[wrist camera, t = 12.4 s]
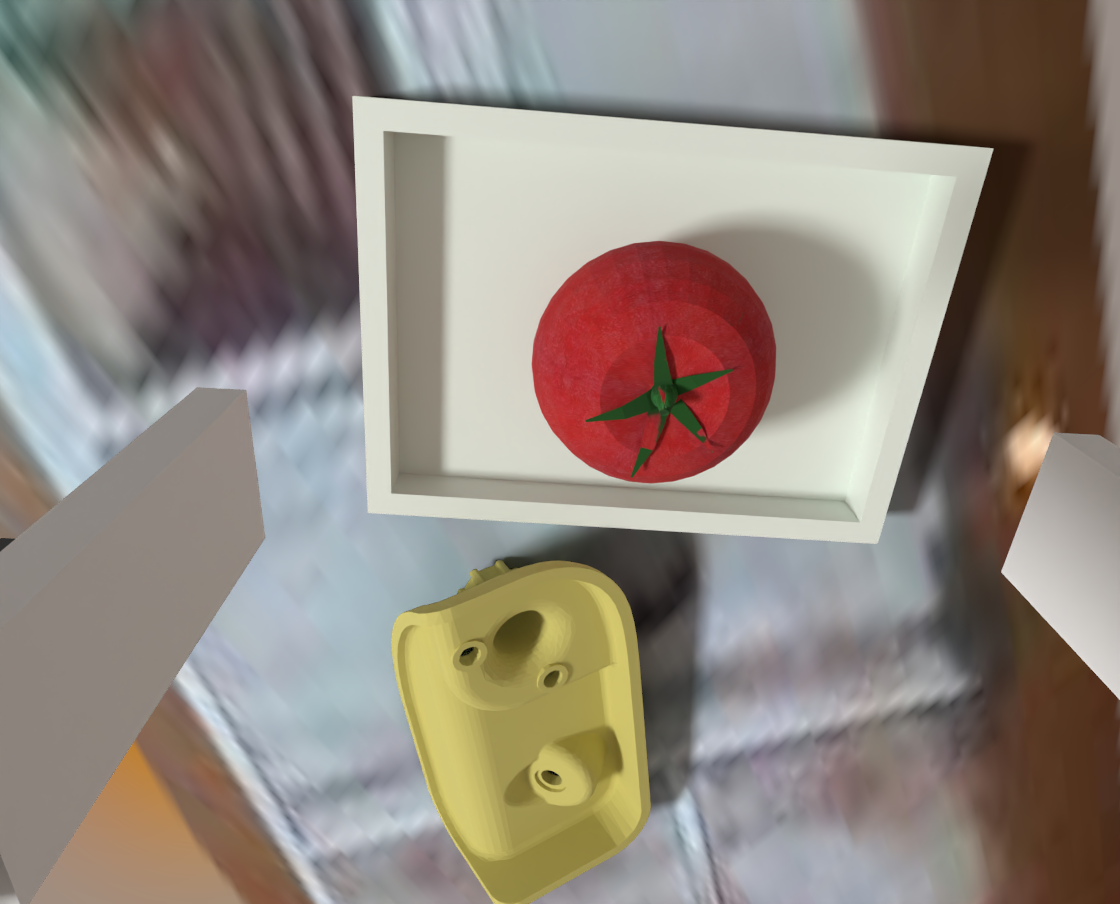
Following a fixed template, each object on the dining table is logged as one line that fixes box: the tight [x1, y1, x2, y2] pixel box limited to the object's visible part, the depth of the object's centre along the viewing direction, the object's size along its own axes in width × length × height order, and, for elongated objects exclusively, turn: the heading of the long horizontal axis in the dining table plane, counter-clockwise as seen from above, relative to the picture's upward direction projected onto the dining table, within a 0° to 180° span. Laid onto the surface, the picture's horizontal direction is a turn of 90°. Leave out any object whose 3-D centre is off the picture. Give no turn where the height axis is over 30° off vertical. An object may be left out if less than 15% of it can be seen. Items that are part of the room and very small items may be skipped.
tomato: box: [532, 241, 776, 484], centre depth 27 cm, size 9×9×8 cm
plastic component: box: [392, 560, 651, 904], centre depth 37 cm, size 20×7×10 cm
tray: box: [352, 96, 994, 544], centre depth 30 cm, size 16×22×2 cm
